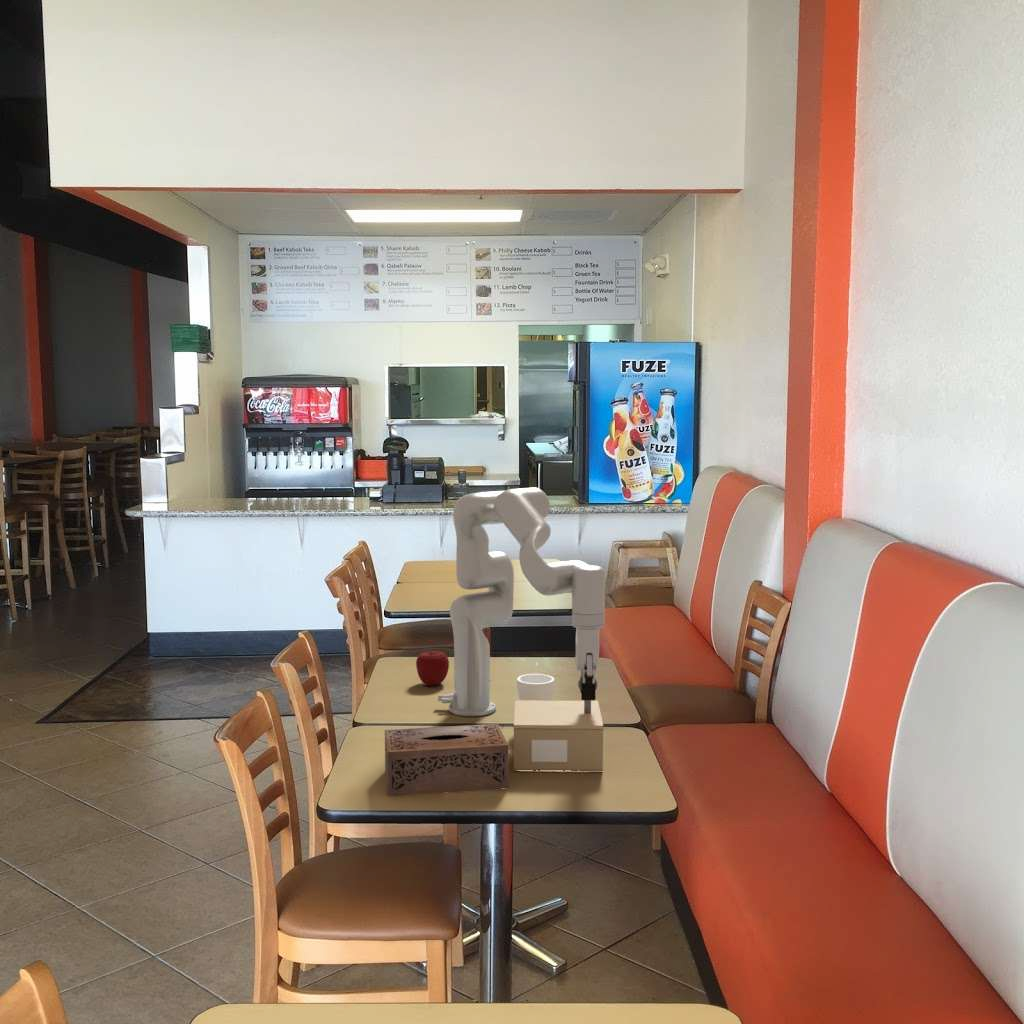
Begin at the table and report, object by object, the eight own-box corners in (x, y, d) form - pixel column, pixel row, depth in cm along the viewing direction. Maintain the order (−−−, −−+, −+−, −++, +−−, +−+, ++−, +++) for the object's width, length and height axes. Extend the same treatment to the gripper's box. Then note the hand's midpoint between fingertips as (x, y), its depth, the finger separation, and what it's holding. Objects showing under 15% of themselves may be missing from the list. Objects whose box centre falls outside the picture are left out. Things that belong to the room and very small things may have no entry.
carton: (513, 772, 229) (513, 729, 228) (515, 744, 247) (515, 704, 246) (602, 772, 229) (603, 729, 228) (597, 745, 247) (597, 705, 246)
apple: (420, 679, 304) (420, 646, 302) (452, 680, 302) (451, 647, 301) (413, 688, 294) (412, 654, 293) (445, 689, 293) (445, 655, 292)
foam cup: (535, 720, 266) (535, 671, 264) (561, 728, 259) (561, 678, 258) (509, 728, 259) (509, 678, 257) (535, 737, 252) (535, 686, 251)
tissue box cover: (498, 765, 234) (498, 723, 233) (508, 789, 220) (508, 745, 219) (385, 772, 230) (384, 729, 228) (388, 797, 215) (387, 752, 214)
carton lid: (513, 728, 228) (513, 686, 227) (515, 703, 246) (515, 664, 245) (603, 728, 228) (603, 686, 226) (597, 704, 246) (598, 664, 245)
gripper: (570, 611, 243) (570, 686, 245) (573, 627, 226) (572, 707, 228) (602, 611, 242) (601, 686, 244) (607, 627, 226) (606, 707, 228)
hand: (587, 695), depth 236 cm, fingers closed on carton lid, 4 cm apart
